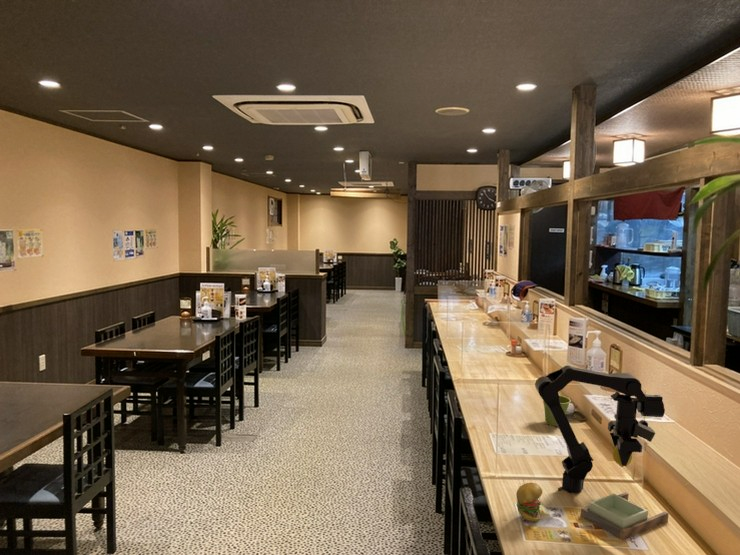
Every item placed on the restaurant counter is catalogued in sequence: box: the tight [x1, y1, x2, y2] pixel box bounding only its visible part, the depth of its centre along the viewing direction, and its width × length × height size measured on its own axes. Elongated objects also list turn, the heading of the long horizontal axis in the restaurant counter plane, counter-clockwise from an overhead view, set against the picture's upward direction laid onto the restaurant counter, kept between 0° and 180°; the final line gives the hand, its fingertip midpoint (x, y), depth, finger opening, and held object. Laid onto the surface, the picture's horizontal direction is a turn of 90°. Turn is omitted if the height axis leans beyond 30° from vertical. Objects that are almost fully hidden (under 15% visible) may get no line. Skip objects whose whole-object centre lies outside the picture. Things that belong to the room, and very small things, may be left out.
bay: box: [580, 492, 670, 541], centre depth 163 cm, size 21×14×4 cm, turn 121°
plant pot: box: [542, 394, 572, 428], centre depth 241 cm, size 12×12×11 cm
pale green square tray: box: [589, 493, 649, 529], centre depth 162 cm, size 11×11×4 cm
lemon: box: [612, 446, 633, 468], centre depth 178 cm, size 6×6×8 cm
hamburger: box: [515, 479, 543, 523], centre depth 163 cm, size 8×7×12 cm
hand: (621, 462), depth 178 cm, fingers closed on lemon, 5 cm apart
